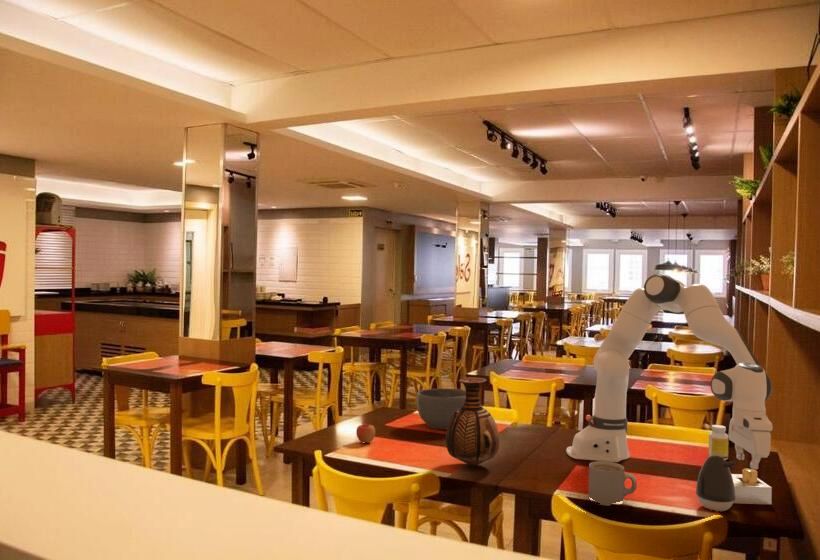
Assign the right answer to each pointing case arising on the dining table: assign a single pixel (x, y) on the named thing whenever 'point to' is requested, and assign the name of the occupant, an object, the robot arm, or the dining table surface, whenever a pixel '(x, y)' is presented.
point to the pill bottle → (718, 442)
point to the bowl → (439, 405)
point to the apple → (365, 433)
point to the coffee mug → (609, 482)
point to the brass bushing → (749, 476)
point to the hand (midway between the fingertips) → (747, 463)
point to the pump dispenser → (716, 484)
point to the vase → (472, 428)
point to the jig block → (751, 491)
